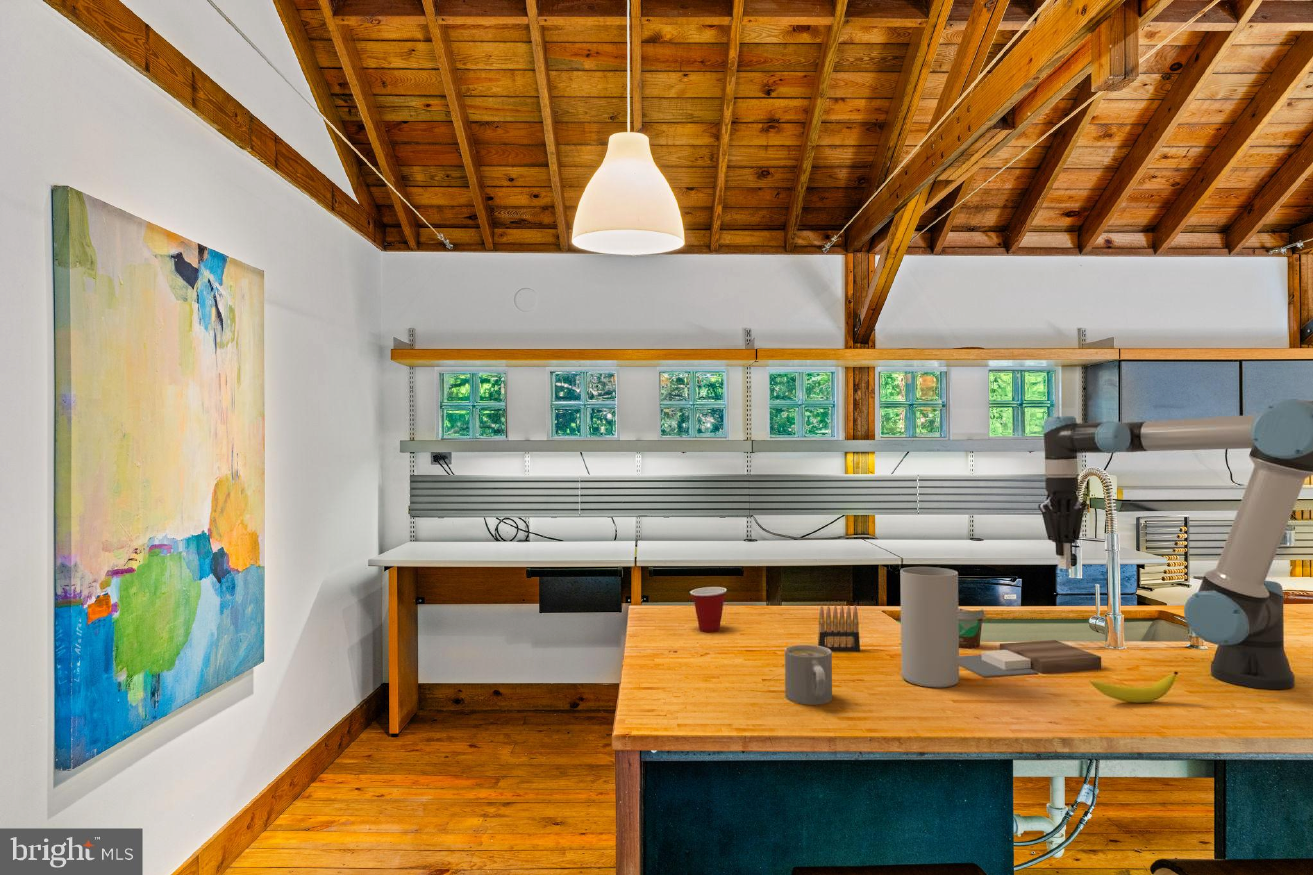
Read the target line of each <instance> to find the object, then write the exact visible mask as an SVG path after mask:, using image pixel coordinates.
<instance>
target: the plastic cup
mask: <svg viewBox="0 0 1313 875" xmlns="http://www.w3.org/2000/svg"><path fill="white" fill-rule="evenodd" d="M726 592H727V588H725V587H722V586H707V587H701V588H700V587H699V588H695V589H693V590H691V591H689V593H690V595H691V596H692V601H693V602H694V608H695V614H696V618H697V619H696V620H697V624H698V628H699V631H700V632H703V633H715V632H716V633H717V632H719V630H720V628H721V622H722V618H723V617H722V615H723V610H724V602H725V597H726Z"/></svg>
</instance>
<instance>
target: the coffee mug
mask: <svg viewBox="0 0 1313 875" xmlns="http://www.w3.org/2000/svg"><path fill="white" fill-rule="evenodd" d="M784 685H785V686H784V690H785V691H784V692H785V693H784V695H785V698H786V700H788V701H790V702H792V703H796V704H800V705H801V704H802V705H808V706H809V705H810V706H811V705H812V706H815V705H824V704H827V703H829V702H831V701H832V700H833V652H831V650H830V649H828V648H825V647H822V646H818V645H816V644H796V645H790V646H787V647H785V649H784Z"/></svg>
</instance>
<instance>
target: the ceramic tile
mask: <svg viewBox="0 0 1313 875" xmlns="http://www.w3.org/2000/svg"><path fill="white" fill-rule="evenodd" d="M981 655H982V660H984V661H986V662H988V663H991V664H993V665H995V666H997V667H1000V668H1002V669H1004V670H1010V669H1023V668H1029V669H1030V668H1031V659H1028V658H1026V657H1023V656H1021V655H1018V654H1016V653H1013V652H1011V651H1008V650H1000V649H998V650H985V651H984V650H983V651H981Z"/></svg>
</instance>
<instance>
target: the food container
mask: <svg viewBox="0 0 1313 875" xmlns="http://www.w3.org/2000/svg"><path fill="white" fill-rule="evenodd" d="M985 618H986V613H985V611H984V608H982V609H979V610H973V611H972V610H967V609H965V608H964V609H962V608H958V623H959V649H966V650H969V649H970V650H971V649H976V648H979V647H980V646H981V636H982V628H983V627H982V625H983V619H985Z"/></svg>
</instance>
